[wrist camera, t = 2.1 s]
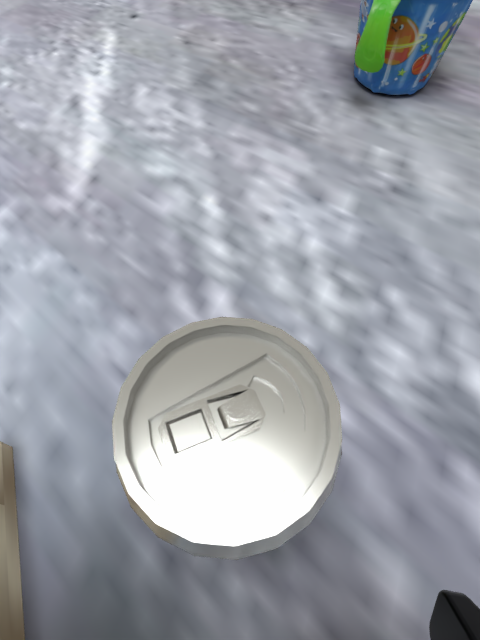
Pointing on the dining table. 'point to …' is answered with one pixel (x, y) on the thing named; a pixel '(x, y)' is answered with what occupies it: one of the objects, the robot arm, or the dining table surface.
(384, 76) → the snack cup
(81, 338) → the dining table surface
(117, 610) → the dining table surface
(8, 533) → the birch tray
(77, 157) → the dining table surface
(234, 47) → the dining table surface
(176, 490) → the beer can
